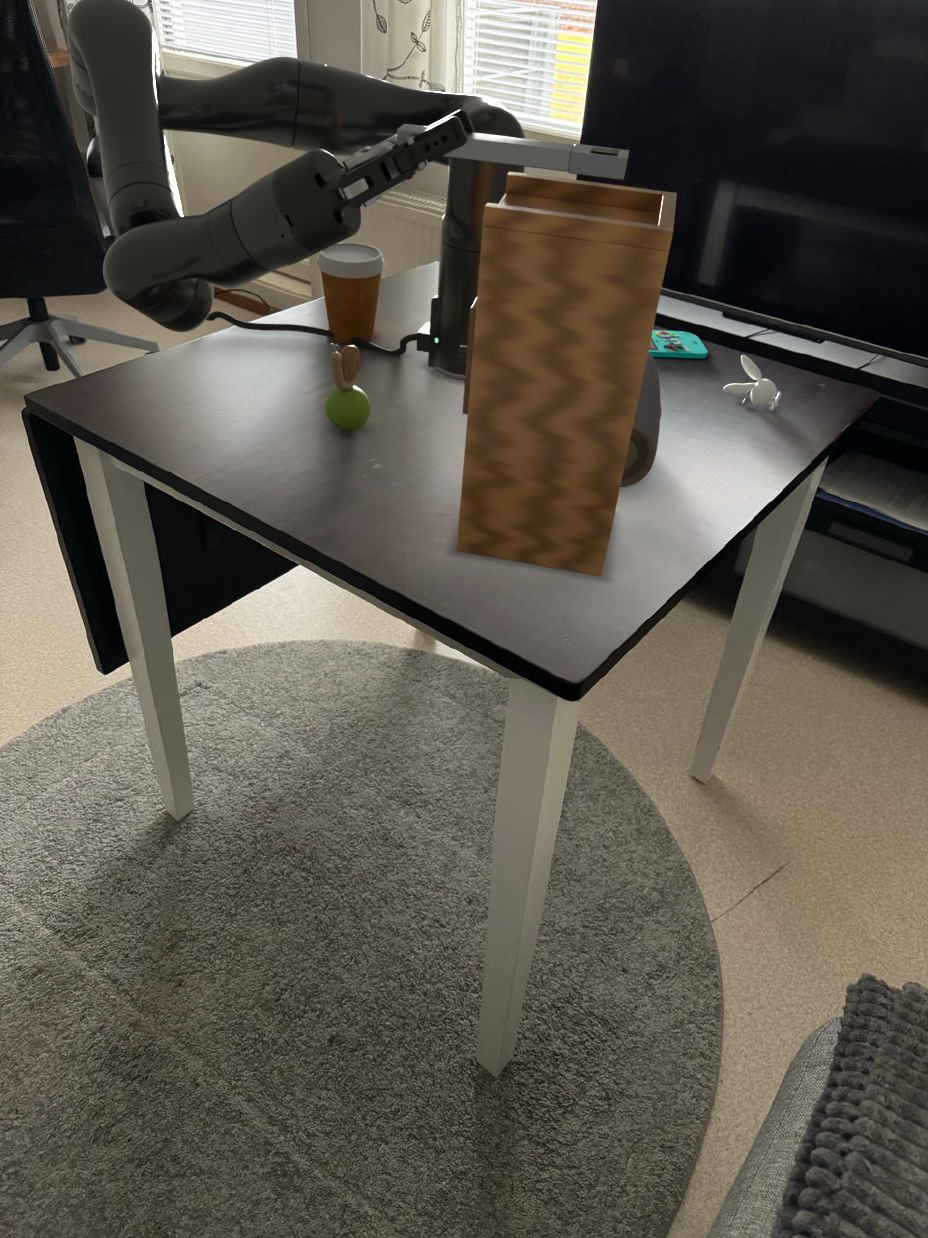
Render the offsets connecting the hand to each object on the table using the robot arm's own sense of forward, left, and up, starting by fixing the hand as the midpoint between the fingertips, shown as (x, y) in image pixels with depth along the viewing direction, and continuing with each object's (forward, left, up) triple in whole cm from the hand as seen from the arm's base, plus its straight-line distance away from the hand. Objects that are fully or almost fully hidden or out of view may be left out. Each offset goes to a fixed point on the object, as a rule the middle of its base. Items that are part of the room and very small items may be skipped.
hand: (465, 125), depth 75 cm
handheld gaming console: (+5, +60, -38) cm, 71 cm away
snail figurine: (-19, +11, -38) cm, 44 cm away
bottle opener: (+5, +1, -2) cm, 6 cm away
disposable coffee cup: (-34, +36, -38) cm, 62 cm away
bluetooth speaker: (+11, +25, -38) cm, 47 cm away
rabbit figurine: (+22, +49, -38) cm, 66 cm away
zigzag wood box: (+10, +3, -38) cm, 39 cm away
